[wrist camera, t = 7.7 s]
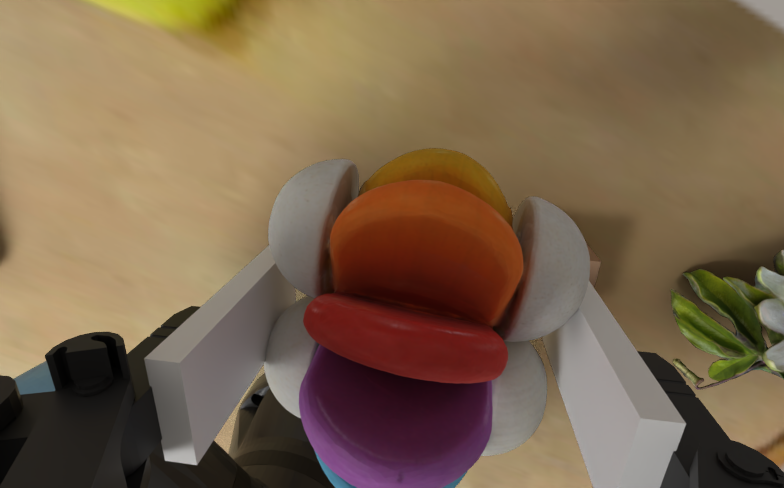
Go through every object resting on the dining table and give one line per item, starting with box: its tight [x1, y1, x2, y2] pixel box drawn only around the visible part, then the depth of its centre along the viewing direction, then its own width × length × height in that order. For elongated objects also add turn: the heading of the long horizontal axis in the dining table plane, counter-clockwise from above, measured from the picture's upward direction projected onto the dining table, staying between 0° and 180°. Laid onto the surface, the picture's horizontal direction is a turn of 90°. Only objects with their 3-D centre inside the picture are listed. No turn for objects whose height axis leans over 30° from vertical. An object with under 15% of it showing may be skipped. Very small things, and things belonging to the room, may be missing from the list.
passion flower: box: [671, 250, 784, 389], centre depth 29 cm, size 11×11×12 cm
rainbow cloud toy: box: [264, 148, 590, 488], centre depth 11 cm, size 8×10×7 cm
